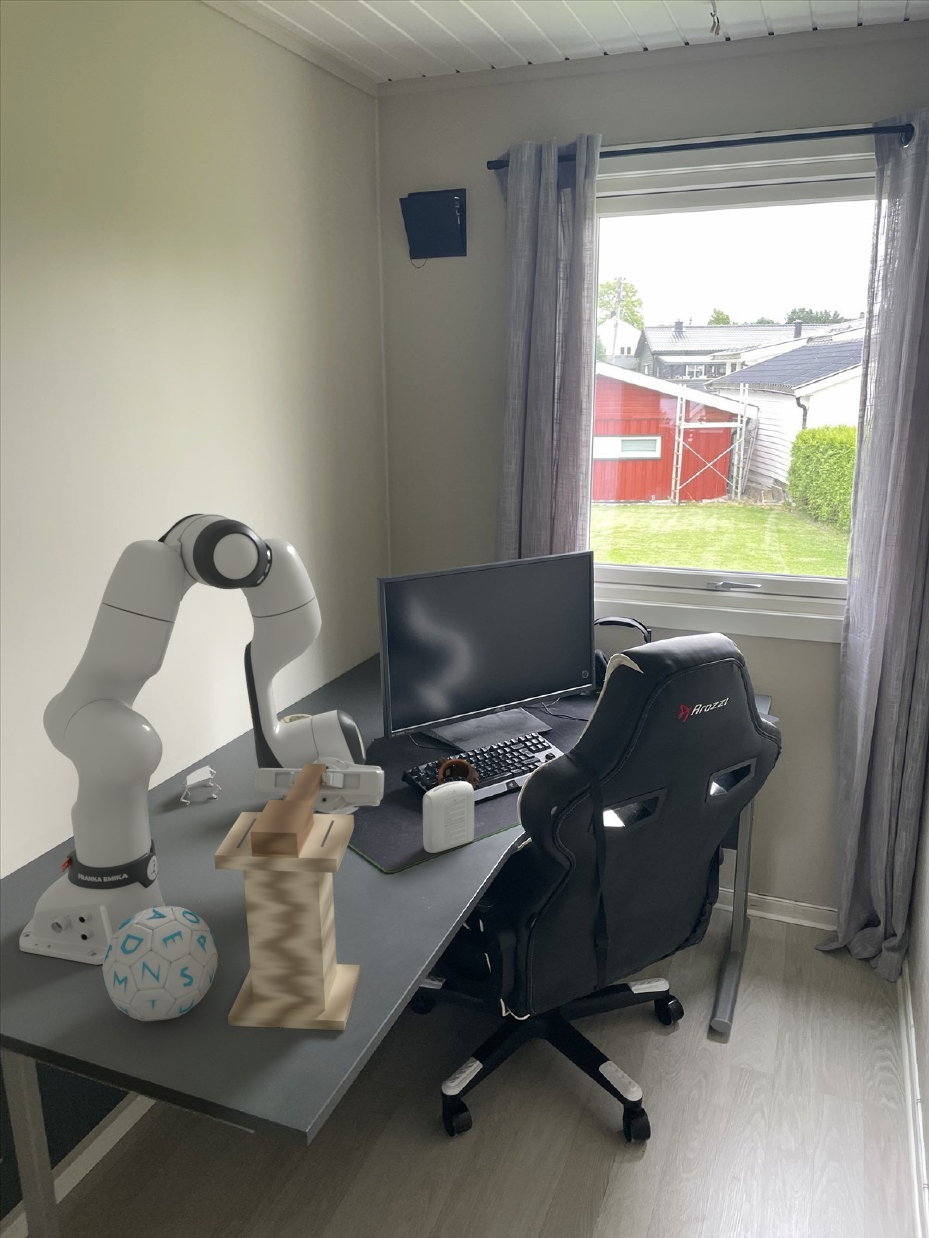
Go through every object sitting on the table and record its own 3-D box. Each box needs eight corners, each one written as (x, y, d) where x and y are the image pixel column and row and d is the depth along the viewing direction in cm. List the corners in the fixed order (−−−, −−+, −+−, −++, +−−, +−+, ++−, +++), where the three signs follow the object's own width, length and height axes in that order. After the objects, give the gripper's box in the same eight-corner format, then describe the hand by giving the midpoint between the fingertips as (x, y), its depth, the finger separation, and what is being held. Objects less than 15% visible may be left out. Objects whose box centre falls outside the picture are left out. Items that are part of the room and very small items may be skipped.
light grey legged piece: (219, 806, 187) (217, 785, 185) (178, 808, 186) (176, 786, 185) (228, 781, 198) (227, 761, 197) (189, 783, 197) (187, 762, 196)
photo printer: (465, 832, 176) (465, 773, 172) (477, 841, 172) (477, 781, 169) (419, 846, 170) (418, 786, 167) (431, 856, 167) (430, 795, 163)
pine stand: (228, 1025, 124) (214, 854, 117) (254, 969, 135) (242, 811, 128) (344, 1030, 123) (336, 858, 116) (360, 973, 134) (353, 814, 127)
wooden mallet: (251, 856, 117) (249, 831, 116) (296, 776, 140) (295, 755, 139) (298, 857, 116) (296, 833, 115) (335, 777, 139) (334, 756, 138)
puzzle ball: (192, 1052, 119) (182, 953, 115) (86, 1039, 121) (73, 942, 117) (238, 978, 133) (230, 888, 129) (143, 968, 136) (133, 879, 132)
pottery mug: (491, 791, 194) (485, 768, 188) (460, 820, 190) (452, 798, 184) (454, 762, 201) (447, 739, 195) (423, 789, 197) (415, 767, 192)
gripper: (268, 764, 150) (244, 755, 137) (390, 767, 149) (378, 758, 136) (265, 803, 149) (240, 797, 135) (389, 806, 147) (375, 801, 134)
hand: (310, 777), depth 135 cm, fingers closed on wooden mallet, 3 cm apart
